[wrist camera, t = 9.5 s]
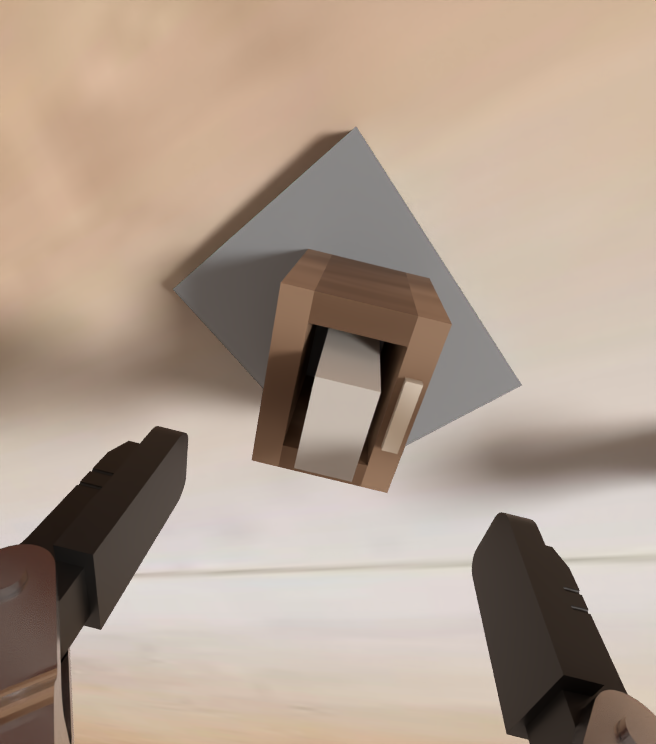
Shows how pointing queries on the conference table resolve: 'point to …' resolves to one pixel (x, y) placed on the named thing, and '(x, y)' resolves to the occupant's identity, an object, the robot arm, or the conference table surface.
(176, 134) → the conference table surface
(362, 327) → the open cubby box
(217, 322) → the base
